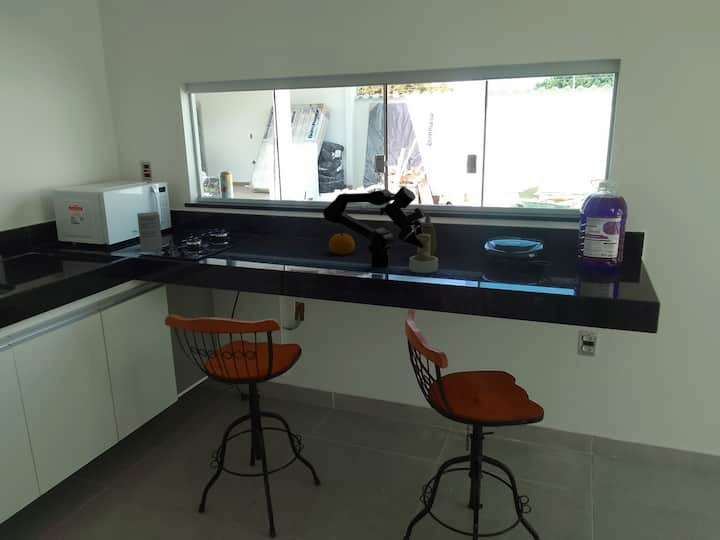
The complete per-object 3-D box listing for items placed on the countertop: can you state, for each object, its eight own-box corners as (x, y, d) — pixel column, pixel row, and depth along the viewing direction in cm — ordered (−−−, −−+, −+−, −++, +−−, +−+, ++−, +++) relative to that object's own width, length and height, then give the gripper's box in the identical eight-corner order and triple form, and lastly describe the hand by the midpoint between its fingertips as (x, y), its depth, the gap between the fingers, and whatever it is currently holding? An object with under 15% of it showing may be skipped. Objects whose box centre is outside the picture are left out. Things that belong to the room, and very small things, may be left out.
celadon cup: (408, 272, 215) (408, 261, 214) (410, 265, 225) (410, 254, 224) (437, 273, 213) (437, 262, 212) (438, 266, 223) (438, 255, 222)
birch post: (416, 268, 217) (417, 236, 214) (417, 265, 222) (418, 233, 218) (429, 269, 216) (430, 236, 213) (430, 266, 221) (430, 234, 218)
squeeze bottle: (415, 255, 242) (415, 215, 238) (421, 252, 249) (422, 212, 245) (432, 257, 239) (433, 216, 234) (438, 253, 246) (439, 213, 241)
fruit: (356, 250, 254) (356, 229, 252) (353, 256, 243) (353, 233, 241) (331, 250, 255) (330, 228, 253) (327, 255, 244) (326, 233, 242)
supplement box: (140, 248, 264) (136, 213, 260) (161, 246, 268) (157, 211, 263) (142, 252, 255) (138, 215, 251) (163, 250, 259) (159, 214, 255)
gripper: (407, 205, 205) (435, 235, 205) (417, 198, 223) (444, 227, 222) (386, 225, 210) (414, 255, 209) (398, 217, 227) (424, 245, 226)
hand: (425, 244), depth 217 cm, fingers open, 9 cm apart
